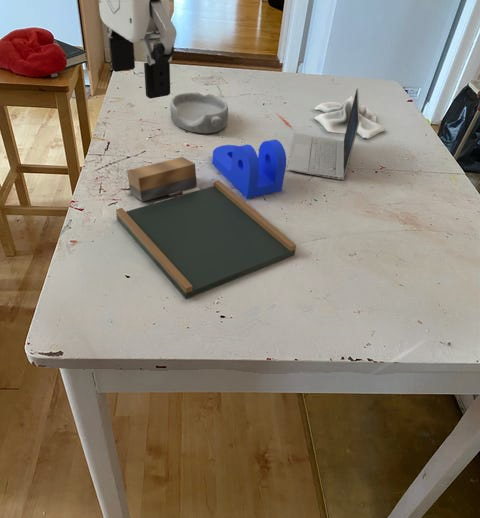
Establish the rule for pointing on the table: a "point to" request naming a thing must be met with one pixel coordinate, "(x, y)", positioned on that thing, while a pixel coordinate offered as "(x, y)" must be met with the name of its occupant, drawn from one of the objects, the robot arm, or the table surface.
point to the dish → (199, 112)
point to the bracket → (252, 167)
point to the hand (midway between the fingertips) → (140, 82)
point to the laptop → (325, 150)
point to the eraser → (162, 178)
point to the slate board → (205, 238)
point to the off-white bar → (189, 191)
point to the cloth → (347, 118)
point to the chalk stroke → (177, 192)
